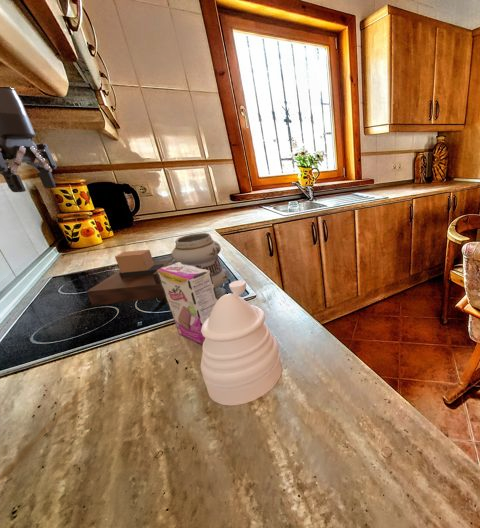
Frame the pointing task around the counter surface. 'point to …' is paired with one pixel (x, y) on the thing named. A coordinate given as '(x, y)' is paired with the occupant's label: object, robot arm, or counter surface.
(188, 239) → the apothecary jar
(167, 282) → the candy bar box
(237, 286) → the honey pot
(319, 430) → the counter surface
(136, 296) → the shelf
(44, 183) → the robot arm
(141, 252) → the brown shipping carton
